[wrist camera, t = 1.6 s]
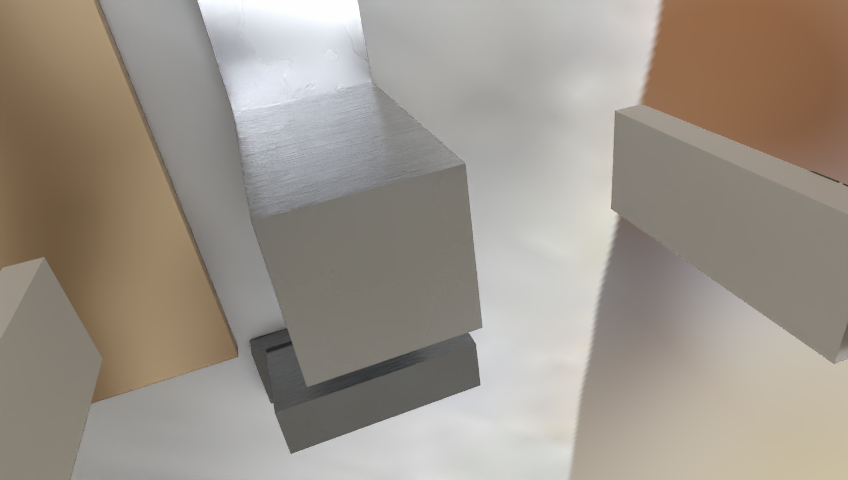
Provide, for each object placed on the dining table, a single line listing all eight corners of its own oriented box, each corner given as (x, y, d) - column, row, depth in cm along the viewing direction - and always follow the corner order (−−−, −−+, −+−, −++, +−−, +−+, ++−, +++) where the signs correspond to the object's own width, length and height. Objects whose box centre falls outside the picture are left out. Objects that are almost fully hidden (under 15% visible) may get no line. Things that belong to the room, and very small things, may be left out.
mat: (4, 420, 19) (-2, 433, 19) (-328, -21, 12) (-350, -18, 12) (237, 346, 21) (238, 356, 21) (66, -78, 14) (61, -78, 13)
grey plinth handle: (269, 389, 23) (280, 468, 19) (39, -206, 13) (-19, -255, 10) (454, 327, 24) (494, 390, 21) (375, -240, 15) (426, -292, 11)
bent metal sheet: (289, 282, 21) (337, 478, 13) (197, -10, 16) (190, 41, 8) (392, 251, 22) (492, 419, 14) (336, -35, 17) (447, -9, 9)
